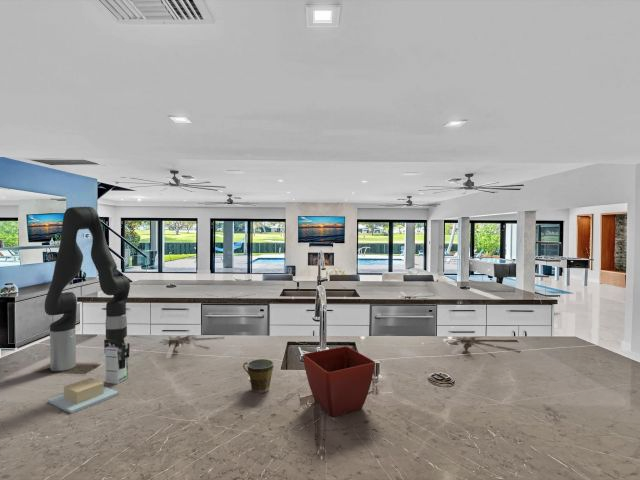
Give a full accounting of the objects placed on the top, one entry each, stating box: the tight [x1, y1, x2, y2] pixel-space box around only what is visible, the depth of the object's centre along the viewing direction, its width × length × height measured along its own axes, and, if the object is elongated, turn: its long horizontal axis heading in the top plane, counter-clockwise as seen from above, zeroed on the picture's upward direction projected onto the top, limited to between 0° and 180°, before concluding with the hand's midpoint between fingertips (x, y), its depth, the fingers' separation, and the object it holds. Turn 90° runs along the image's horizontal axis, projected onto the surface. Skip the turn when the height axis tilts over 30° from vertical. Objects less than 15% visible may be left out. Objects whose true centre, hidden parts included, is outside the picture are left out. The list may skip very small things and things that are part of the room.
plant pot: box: [302, 346, 376, 417], centre depth 125 cm, size 19×19×17 cm
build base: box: [47, 377, 120, 414], centre depth 130 cm, size 16×16×5 cm
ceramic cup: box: [242, 358, 274, 394], centre depth 139 cm, size 13×10×10 cm
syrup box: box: [104, 346, 129, 385], centre depth 146 cm, size 6×6×14 cm
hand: (116, 366), depth 146 cm, fingers closed on syrup box, 6 cm apart
